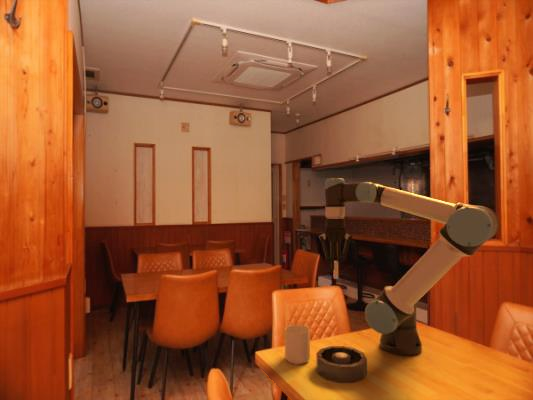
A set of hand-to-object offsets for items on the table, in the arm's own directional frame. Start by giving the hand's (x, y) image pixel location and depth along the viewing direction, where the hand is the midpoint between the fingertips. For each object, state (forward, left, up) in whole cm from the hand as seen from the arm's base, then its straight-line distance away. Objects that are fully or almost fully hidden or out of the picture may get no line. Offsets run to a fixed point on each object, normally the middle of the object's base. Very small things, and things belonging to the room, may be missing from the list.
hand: (335, 278), depth 142 cm
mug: (+16, +11, -27) cm, 33 cm away
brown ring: (+2, +21, -26) cm, 34 cm away
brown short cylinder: (+2, +21, -27) cm, 34 cm away
